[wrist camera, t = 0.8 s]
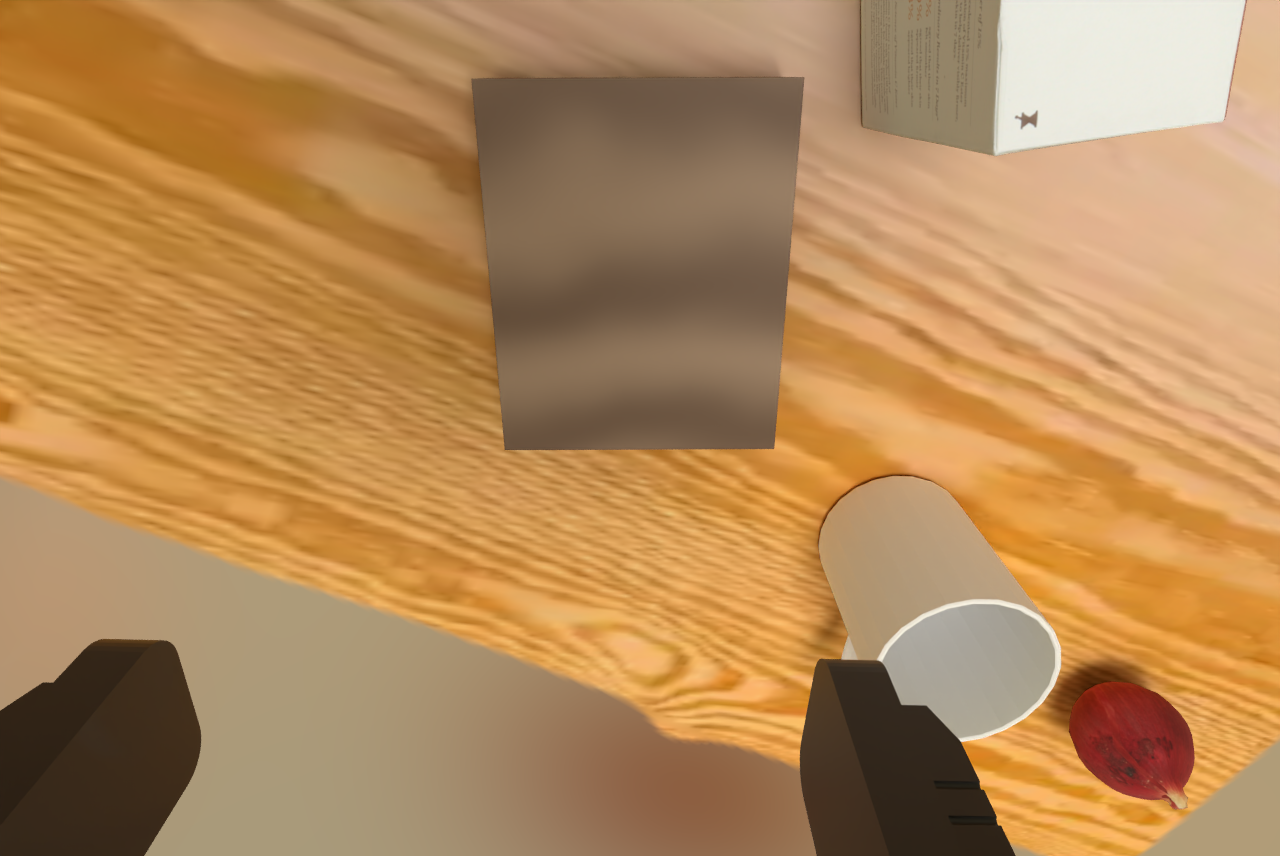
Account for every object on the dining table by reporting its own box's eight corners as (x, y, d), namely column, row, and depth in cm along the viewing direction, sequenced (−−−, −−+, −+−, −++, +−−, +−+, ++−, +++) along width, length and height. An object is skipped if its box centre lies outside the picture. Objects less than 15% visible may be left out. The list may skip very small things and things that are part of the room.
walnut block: (495, 78, 32) (471, 78, 27) (780, 77, 32) (804, 77, 27) (520, 405, 38) (504, 449, 33) (757, 404, 38) (774, 448, 33)
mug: (864, 451, 39) (939, 573, 29) (991, 504, 40) (1102, 637, 31) (755, 622, 43) (788, 775, 34) (872, 664, 45) (936, 823, 35)
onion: (1026, 709, 46) (1098, 826, 39) (1081, 641, 44) (1168, 752, 37) (1104, 734, 47) (1189, 852, 40) (1162, 668, 45) (1263, 781, 38)
